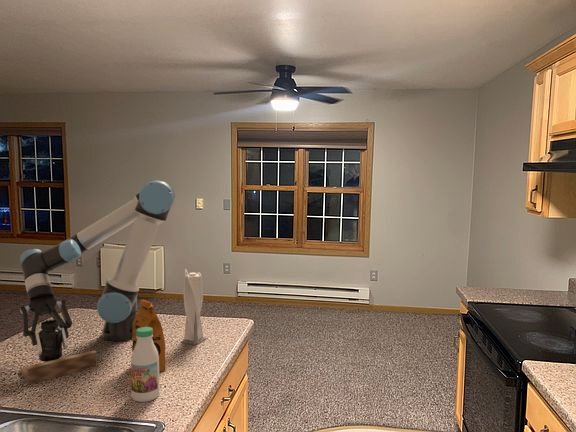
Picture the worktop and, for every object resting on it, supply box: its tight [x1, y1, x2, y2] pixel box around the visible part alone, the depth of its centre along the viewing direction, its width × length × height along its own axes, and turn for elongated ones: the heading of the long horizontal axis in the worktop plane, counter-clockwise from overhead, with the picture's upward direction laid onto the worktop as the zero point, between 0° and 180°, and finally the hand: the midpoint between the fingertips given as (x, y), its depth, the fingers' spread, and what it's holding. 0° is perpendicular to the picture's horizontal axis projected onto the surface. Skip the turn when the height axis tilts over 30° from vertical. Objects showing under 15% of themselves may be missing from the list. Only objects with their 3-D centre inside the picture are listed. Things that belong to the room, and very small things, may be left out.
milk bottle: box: [130, 327, 160, 403], centre depth 127 cm, size 8×8×20 cm
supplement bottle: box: [37, 319, 63, 362], centre depth 143 cm, size 7×7×12 cm
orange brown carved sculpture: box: [131, 299, 167, 373], centre depth 147 cm, size 10×12×22 cm
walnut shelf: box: [19, 350, 98, 385], centre depth 145 cm, size 20×12×5 cm, turn 131°
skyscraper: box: [180, 268, 207, 346], centre depth 172 cm, size 8×8×28 cm
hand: (53, 350), depth 141 cm, fingers closed on supplement bottle, 7 cm apart
